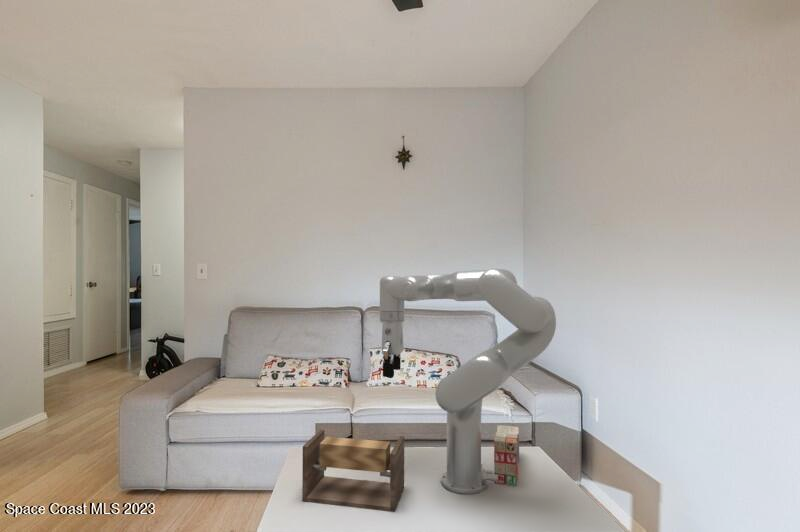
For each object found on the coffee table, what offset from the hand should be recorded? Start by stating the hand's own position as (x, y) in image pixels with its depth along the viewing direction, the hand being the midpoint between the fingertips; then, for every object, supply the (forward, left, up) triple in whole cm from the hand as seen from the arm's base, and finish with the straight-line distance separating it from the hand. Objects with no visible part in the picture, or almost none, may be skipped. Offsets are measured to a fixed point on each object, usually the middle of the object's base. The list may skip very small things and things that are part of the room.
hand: (391, 373), depth 131 cm
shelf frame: (+6, +18, -28) cm, 34 cm away
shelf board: (+6, +18, -21) cm, 28 cm away
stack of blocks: (-34, -6, -29) cm, 45 cm away
